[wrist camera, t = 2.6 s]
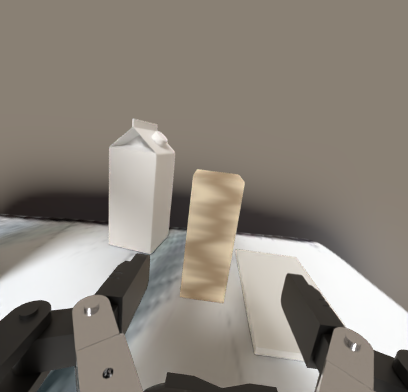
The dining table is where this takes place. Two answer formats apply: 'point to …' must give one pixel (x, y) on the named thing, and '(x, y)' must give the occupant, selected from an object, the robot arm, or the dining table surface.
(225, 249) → the birch block
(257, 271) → the white board
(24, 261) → the dining table surface
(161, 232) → the milk carton
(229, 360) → the dining table surface
